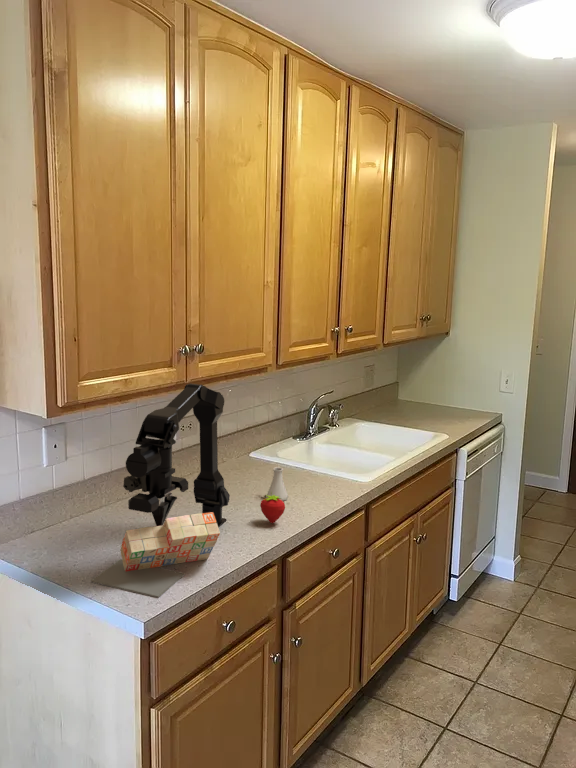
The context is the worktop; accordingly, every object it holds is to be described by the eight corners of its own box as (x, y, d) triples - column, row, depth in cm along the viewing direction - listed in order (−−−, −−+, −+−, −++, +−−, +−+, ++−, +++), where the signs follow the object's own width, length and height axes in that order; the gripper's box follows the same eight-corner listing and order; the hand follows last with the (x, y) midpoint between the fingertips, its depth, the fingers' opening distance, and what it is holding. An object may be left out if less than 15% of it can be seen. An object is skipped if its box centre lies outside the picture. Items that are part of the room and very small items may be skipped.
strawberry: (279, 529, 184) (280, 496, 182) (256, 524, 187) (257, 491, 185) (287, 522, 190) (289, 490, 188) (264, 517, 192) (265, 485, 191)
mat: (120, 560, 162) (120, 559, 161) (184, 574, 156) (184, 573, 156) (91, 582, 150) (90, 580, 150) (158, 597, 145) (158, 596, 144)
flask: (281, 504, 204) (282, 473, 202) (261, 499, 207) (262, 469, 206) (292, 497, 210) (293, 467, 208) (273, 492, 214) (274, 463, 212)
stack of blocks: (124, 573, 154) (133, 545, 146) (119, 550, 158) (127, 522, 150) (208, 559, 164) (220, 532, 156) (201, 537, 168) (213, 511, 160)
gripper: (151, 451, 167) (151, 508, 169) (108, 471, 149) (108, 535, 152) (189, 457, 163) (188, 515, 166) (150, 478, 146) (150, 543, 148)
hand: (159, 526), depth 158 cm, fingers closed
